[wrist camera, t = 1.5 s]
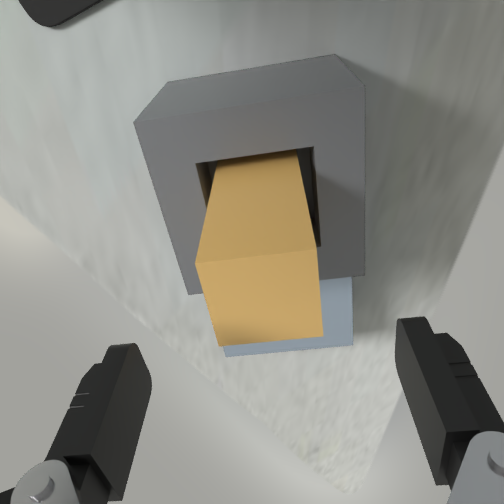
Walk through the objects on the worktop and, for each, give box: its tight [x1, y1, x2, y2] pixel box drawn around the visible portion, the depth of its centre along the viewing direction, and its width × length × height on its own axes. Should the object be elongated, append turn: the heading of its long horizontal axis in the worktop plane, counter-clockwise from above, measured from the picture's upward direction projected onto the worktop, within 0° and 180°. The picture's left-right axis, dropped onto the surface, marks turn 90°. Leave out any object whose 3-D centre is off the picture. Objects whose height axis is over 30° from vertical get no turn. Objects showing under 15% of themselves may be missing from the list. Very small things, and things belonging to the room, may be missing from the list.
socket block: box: [133, 54, 365, 357], centre depth 26 cm, size 20×10×8 cm, turn 9°
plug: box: [195, 149, 323, 346], centre depth 19 cm, size 5×4×10 cm
